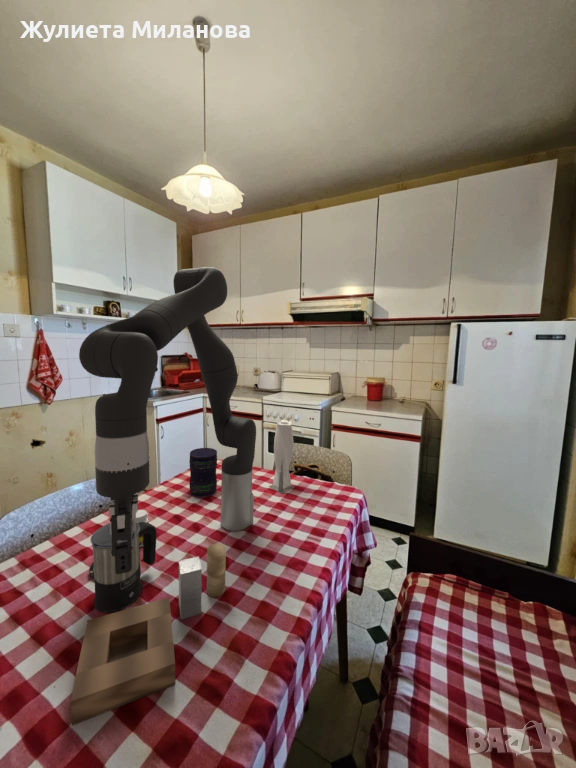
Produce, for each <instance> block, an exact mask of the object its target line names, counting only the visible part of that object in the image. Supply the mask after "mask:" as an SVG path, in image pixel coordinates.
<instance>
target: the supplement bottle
mask: <svg viewBox="0 0 576 768" xmlns="http://www.w3.org/2000/svg"><path fill="white" fill-rule="evenodd" d="M139 522H147V523H149V519H148V512H147V510H144V509H138V511H137V512H136V523H139ZM141 547H143V535H141V536H140V537H139V548H141Z"/></svg>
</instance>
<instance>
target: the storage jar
mask: <svg viewBox="0 0 576 768" xmlns="http://www.w3.org/2000/svg"><path fill="white" fill-rule="evenodd" d="M188 466H189V469H190V470H189V471H190V477H189V482H188V483H189V495H191V496H192V497H195V498H207V497H211V496H213V495H215V494H216V492H217V491H218V490H217V485H218V484H217V483H218V476H217V467H218V450H217V449H215V448H211V447H199V448H195V449H192V450H191V451H190V452H189V465H188Z"/></svg>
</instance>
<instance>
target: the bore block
mask: <svg viewBox="0 0 576 768" xmlns="http://www.w3.org/2000/svg"><path fill="white" fill-rule="evenodd" d="M170 602H171V601H170V596H169V597H165V598H162V599H159V600H154V601H152V602H148V603H144V604H141V605H138V606H133V607H130V608H125V609H121V610H119V611H115V612H110V613H107V614H105V615H102V616H98V617H94V618H90V619H87V620H86V625H85V629H84V630H85V631H84V635H83V640H82V644H81V649H80V654H79V658H78V664H77V669H76V674H75V679H74V683H73V687H72V692H71V697H70V701H69V703H70V716H71V717H70V718H71V726H74V725H77V724H79V723H82V722H85V721H86V720H89V719H92V718H95V717H96V716H100V715H102V714H104V713H107V712H110V711H112V710H114V709H118V708H120V707H123V706H124V705H125V706H126V705H128V704H129V703H132V702H135V701H137V700H140V699H143V698H145V697H148V696H150V695H152V694H155V693H158V692H160V691H162V690H165V689H168V688H170V687H173V686H175V685H176V658H175V657H176V656H175V649H174V648H175V646H174V635H173V626H172V624H173V623H172V615H171V613H172V612H171V603H170Z"/></svg>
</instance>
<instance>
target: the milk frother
mask: <svg viewBox="0 0 576 768" xmlns="http://www.w3.org/2000/svg"><path fill="white" fill-rule="evenodd" d="M141 535H143V546H142V561H143V562H144V563H145V564H146V565H149V566H151V565H153V564H155V562H156V553H157V552H156V550H157V528H156V526H154V525H153V524H151V523H149V522H148V523H147V522H139V523H136V530H135V532H134V538H133V539H132V543H133V550H132V570H131V571H130V572H126V573H122V574H116V572H115V556H114V557H112V554H111V550H112V535H111V534H110V522H109V523H106V524H105V525H103V526H101V527H99V528H97V530H95V531H94V532H93V533H92V535H91V537H90V544H91V546H92V555H93V556H92V557H93V558H92V559H93V561H92V563H91V564H90V565H89V571H88V572H89V573H88V574H89V575H90V577H91V578H92V579H94V599H93V607H94V608H95V609H96V610H97V611H98V612H101V613H115V612H119V611H122V610H124V609H127V608H128V607H129V606H130V605H132V604H133V603H134V602H135V601H136V600H138V598H139V597H140V595H141V593H142V591H143V585H142V581H141V574H142V573H141V571H142V570H141V552H140V547H139V537H140V536H141ZM122 542H127V540H125V541H121V540H118V543H122Z"/></svg>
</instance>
